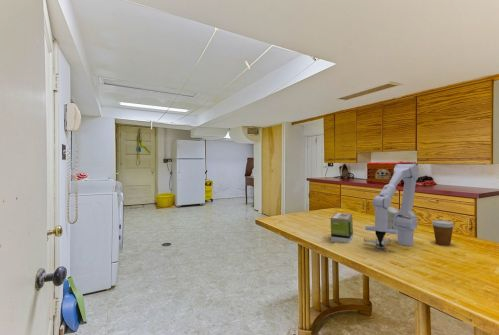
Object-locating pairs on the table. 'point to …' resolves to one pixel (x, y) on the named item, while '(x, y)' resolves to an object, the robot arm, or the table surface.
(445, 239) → the disposable coffee cup
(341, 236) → the tea box
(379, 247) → the capstan
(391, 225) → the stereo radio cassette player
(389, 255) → the table surface
